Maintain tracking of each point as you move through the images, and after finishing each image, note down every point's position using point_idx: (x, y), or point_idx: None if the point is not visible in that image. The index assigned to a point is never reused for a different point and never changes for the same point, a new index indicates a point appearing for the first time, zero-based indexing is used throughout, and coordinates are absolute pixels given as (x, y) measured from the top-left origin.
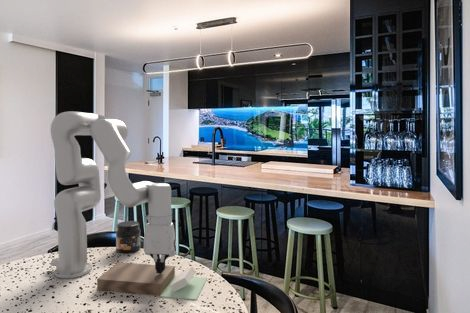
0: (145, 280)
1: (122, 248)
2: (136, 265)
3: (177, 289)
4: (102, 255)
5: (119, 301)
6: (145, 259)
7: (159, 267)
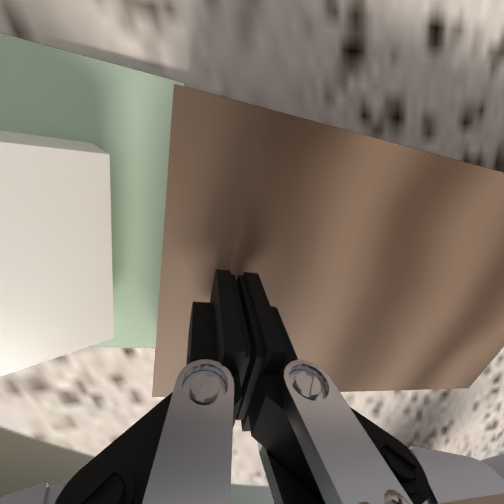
0: (332, 179)
1: None
2: (388, 374)
3: (42, 137)
4: (462, 432)
5: (448, 38)
6: None
7: (235, 304)
